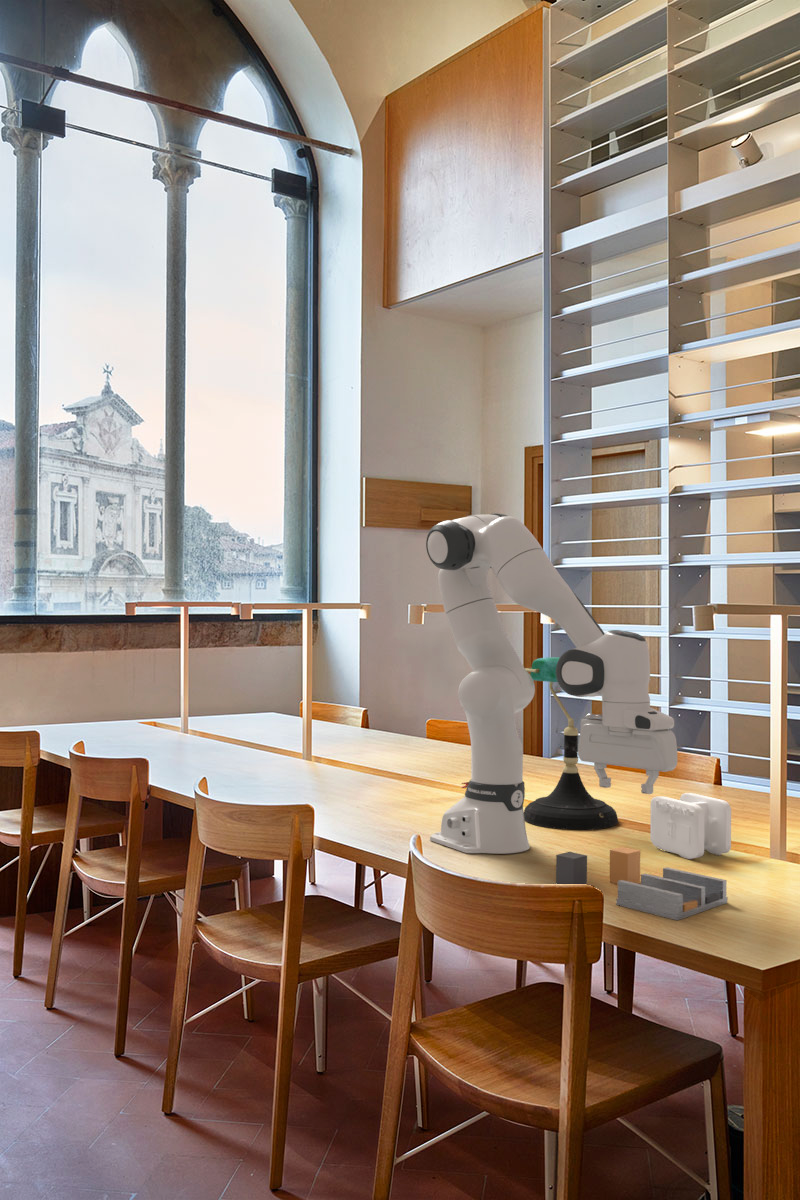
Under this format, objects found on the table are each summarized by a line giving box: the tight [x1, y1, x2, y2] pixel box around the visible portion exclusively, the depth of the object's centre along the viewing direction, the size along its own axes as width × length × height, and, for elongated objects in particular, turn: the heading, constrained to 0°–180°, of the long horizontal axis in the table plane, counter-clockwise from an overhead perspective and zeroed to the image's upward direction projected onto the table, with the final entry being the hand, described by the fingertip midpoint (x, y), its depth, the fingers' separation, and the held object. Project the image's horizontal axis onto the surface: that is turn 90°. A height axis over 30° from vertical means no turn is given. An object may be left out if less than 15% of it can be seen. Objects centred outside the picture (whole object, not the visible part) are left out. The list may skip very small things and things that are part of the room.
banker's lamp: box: [523, 656, 619, 831], centre depth 250 cm, size 26×23×40 cm
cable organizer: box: [649, 792, 732, 860], centre depth 217 cm, size 15×11×12 cm
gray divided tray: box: [615, 866, 729, 921], centre depth 178 cm, size 12×16×4 cm
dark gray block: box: [555, 851, 588, 885], centre depth 187 cm, size 4×4×6 cm
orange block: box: [609, 846, 641, 885], centre depth 192 cm, size 4×4×6 cm
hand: (625, 790), depth 192 cm, fingers open, 8 cm apart
